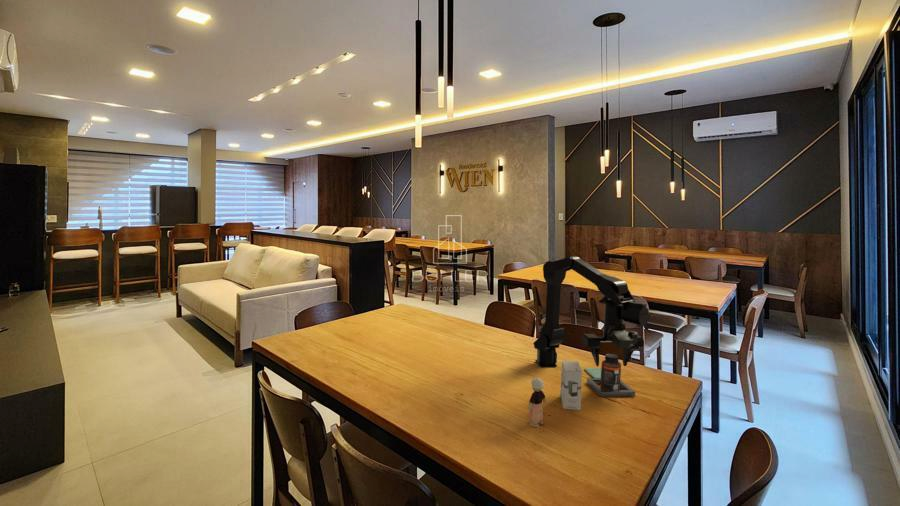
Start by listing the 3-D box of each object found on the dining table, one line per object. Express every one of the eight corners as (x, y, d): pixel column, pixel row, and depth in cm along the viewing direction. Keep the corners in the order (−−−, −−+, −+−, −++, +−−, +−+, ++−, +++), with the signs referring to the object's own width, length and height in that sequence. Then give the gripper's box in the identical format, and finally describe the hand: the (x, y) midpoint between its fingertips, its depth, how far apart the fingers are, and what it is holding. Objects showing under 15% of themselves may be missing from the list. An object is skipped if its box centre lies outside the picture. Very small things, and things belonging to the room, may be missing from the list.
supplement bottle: (621, 394, 131) (623, 359, 130) (601, 392, 132) (603, 357, 131) (617, 386, 137) (619, 353, 136) (598, 384, 138) (600, 351, 137)
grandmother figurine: (534, 416, 115) (536, 372, 114) (547, 420, 113) (549, 375, 112) (522, 427, 109) (524, 381, 107) (536, 432, 106) (538, 385, 105)
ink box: (559, 396, 128) (561, 359, 127) (576, 397, 128) (577, 360, 127) (563, 409, 120) (565, 369, 119) (580, 410, 119) (582, 371, 118)
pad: (595, 379, 142) (595, 378, 142) (584, 370, 151) (584, 368, 151) (620, 379, 143) (620, 377, 143) (608, 369, 152) (608, 368, 152)
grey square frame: (601, 396, 128) (601, 392, 128) (586, 382, 139) (587, 378, 139) (634, 396, 129) (635, 391, 129) (618, 382, 140) (618, 378, 140)
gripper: (596, 325, 124) (593, 375, 125) (655, 325, 125) (652, 375, 127) (581, 316, 135) (579, 362, 136) (636, 316, 136) (633, 362, 138)
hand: (610, 365), depth 134 cm, fingers open, 9 cm apart
